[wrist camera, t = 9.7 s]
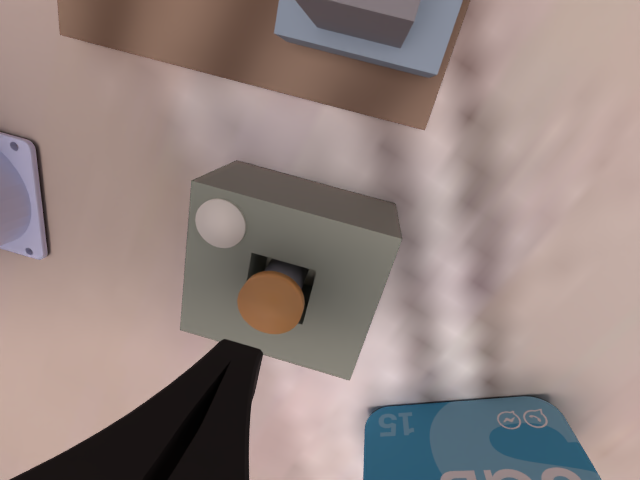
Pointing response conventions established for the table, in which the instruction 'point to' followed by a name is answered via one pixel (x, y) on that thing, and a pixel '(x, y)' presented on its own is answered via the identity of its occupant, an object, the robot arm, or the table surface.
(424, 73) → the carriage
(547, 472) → the data package
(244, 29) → the rail
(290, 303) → the button
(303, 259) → the cabinet
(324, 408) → the table surface
